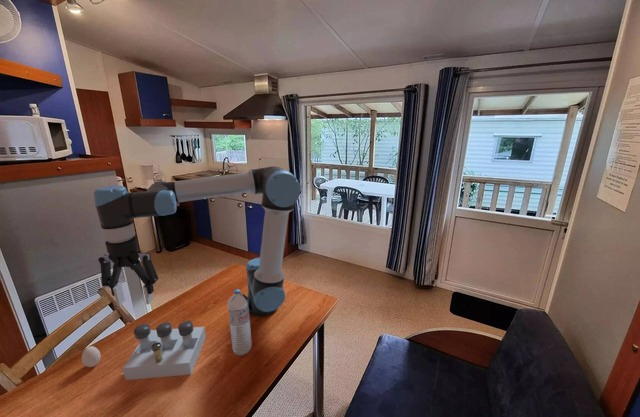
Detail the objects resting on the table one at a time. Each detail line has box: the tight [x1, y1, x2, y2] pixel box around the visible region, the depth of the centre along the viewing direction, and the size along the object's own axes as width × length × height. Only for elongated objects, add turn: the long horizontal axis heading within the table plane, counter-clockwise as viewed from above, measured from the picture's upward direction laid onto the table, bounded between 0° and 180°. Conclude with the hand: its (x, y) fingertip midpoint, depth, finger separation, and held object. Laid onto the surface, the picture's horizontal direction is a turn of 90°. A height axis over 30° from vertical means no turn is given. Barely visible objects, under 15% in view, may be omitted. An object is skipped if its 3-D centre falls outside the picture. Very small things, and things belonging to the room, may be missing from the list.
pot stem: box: [151, 342, 163, 363], centre depth 83 cm, size 3×3×6 cm
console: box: [122, 326, 207, 381], centre depth 91 cm, size 20×16×5 cm
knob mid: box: [155, 321, 173, 348], centre depth 89 cm, size 4×4×7 cm
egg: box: [81, 345, 101, 368], centre depth 87 cm, size 5×5×7 cm
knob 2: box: [177, 320, 194, 346], centre depth 90 cm, size 4×4×7 cm
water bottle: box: [227, 288, 253, 356], centre depth 92 cm, size 7×7×25 cm
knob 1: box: [133, 323, 151, 349], centre depth 88 cm, size 4×4×7 cm
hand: (135, 302), depth 84 cm, fingers open, 8 cm apart
